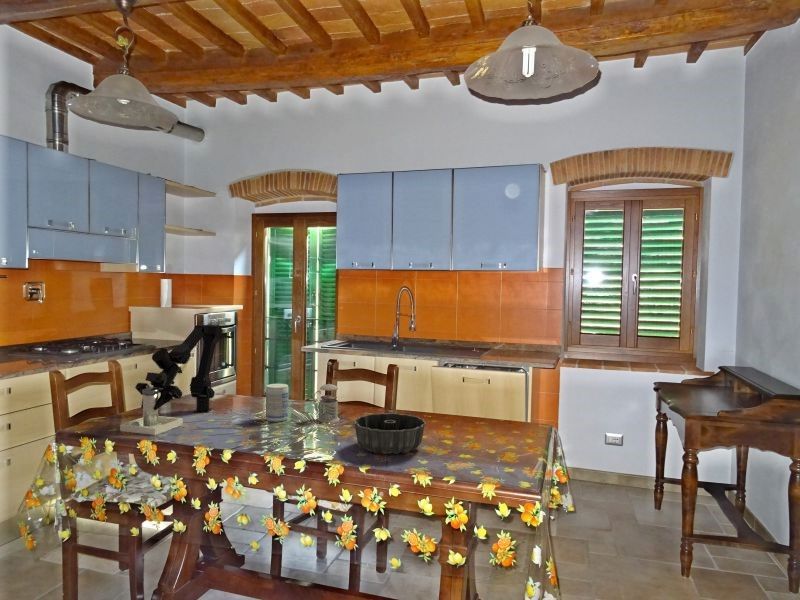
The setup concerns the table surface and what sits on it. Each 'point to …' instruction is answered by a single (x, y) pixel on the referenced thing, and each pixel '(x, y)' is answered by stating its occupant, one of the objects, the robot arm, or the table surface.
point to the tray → (162, 426)
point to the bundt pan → (389, 432)
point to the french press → (328, 404)
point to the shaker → (150, 407)
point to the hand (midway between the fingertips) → (148, 408)
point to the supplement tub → (276, 402)
